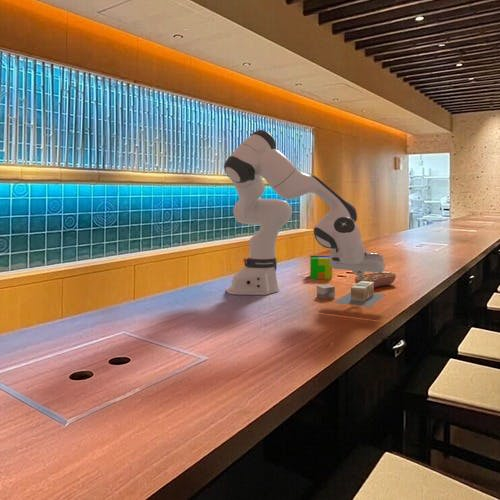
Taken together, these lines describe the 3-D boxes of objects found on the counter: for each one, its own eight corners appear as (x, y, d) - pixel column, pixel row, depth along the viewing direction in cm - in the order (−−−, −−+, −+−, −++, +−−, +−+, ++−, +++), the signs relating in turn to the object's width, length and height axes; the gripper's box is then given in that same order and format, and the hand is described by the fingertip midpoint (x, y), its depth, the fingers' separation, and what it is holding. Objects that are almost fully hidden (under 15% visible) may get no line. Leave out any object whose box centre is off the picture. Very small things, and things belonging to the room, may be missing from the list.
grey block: (323, 300, 181) (324, 288, 180) (316, 298, 186) (316, 285, 185) (334, 299, 183) (334, 286, 183) (327, 296, 188) (327, 284, 187)
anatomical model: (367, 292, 195) (368, 281, 194) (348, 289, 202) (349, 277, 202) (399, 285, 209) (399, 274, 208) (380, 282, 216) (381, 271, 216)
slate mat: (370, 307, 169) (370, 306, 169) (333, 303, 176) (333, 302, 176) (385, 295, 188) (385, 294, 188) (351, 292, 195) (351, 291, 195)
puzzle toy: (330, 275, 234) (330, 255, 233) (332, 279, 224) (332, 258, 223) (310, 275, 235) (310, 255, 234) (311, 279, 225) (311, 258, 224)
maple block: (363, 287, 176) (373, 281, 189) (350, 286, 179) (361, 280, 191) (363, 301, 177) (373, 294, 189) (350, 300, 180) (361, 292, 192)
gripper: (383, 247, 168) (389, 270, 177) (329, 244, 178) (337, 266, 187) (380, 261, 164) (386, 283, 174) (324, 257, 174) (333, 279, 184)
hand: (360, 274), depth 181 cm, fingers closed
